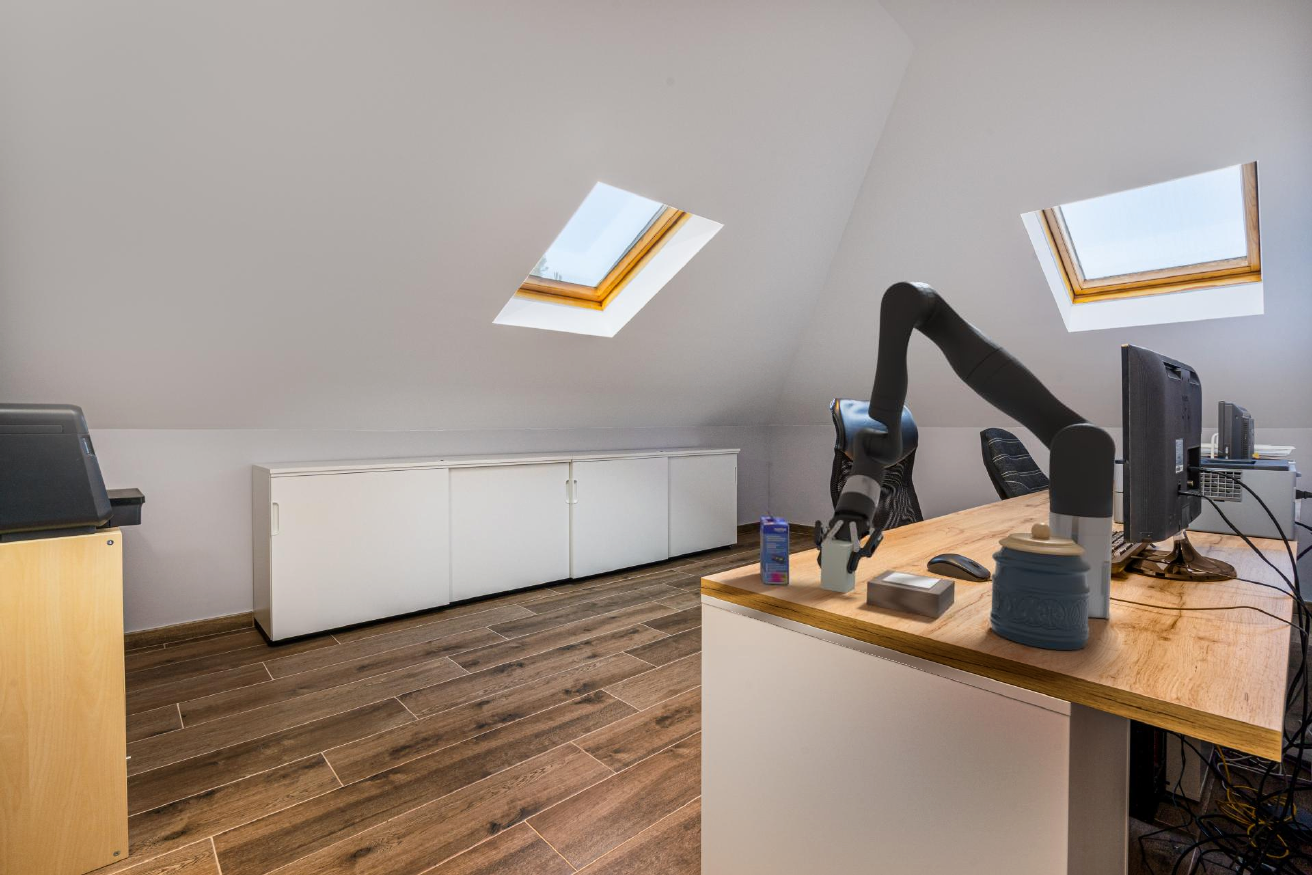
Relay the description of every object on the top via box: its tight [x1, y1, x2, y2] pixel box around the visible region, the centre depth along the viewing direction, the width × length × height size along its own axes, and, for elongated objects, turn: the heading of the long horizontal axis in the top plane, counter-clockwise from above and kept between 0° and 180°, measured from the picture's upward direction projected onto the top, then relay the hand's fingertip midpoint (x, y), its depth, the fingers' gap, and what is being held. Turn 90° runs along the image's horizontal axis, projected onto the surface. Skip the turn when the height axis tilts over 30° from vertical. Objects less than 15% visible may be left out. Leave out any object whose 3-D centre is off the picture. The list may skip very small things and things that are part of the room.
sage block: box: [820, 540, 856, 594], centre depth 119 cm, size 5×5×9 cm
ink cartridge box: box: [759, 507, 790, 586], centre depth 125 cm, size 10×6×14 cm, turn 174°
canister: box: [989, 522, 1092, 651], centre depth 93 cm, size 13×13×18 cm
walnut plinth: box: [866, 569, 956, 619], centre depth 109 cm, size 12×12×4 cm
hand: (835, 568), depth 117 cm, fingers closed on sage block, 5 cm apart
